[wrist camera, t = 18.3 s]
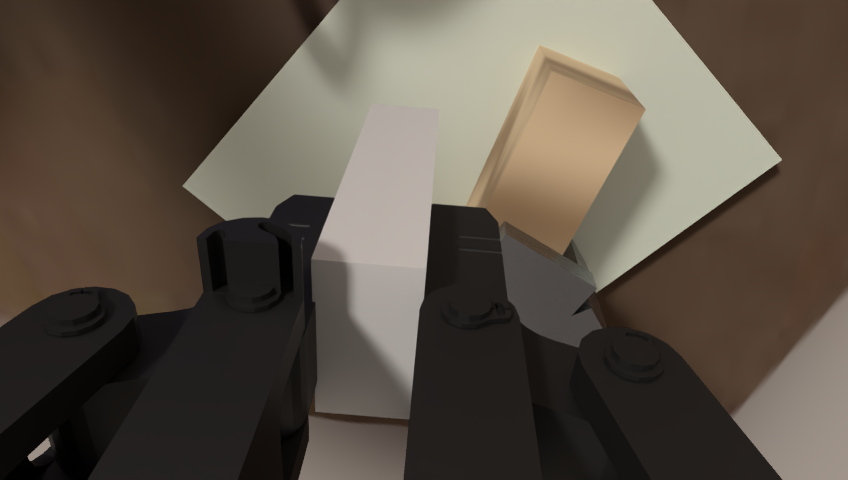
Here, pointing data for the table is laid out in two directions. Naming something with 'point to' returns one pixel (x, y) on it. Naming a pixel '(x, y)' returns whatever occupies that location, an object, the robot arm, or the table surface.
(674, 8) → the table surface
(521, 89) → the link
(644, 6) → the board
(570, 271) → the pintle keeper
